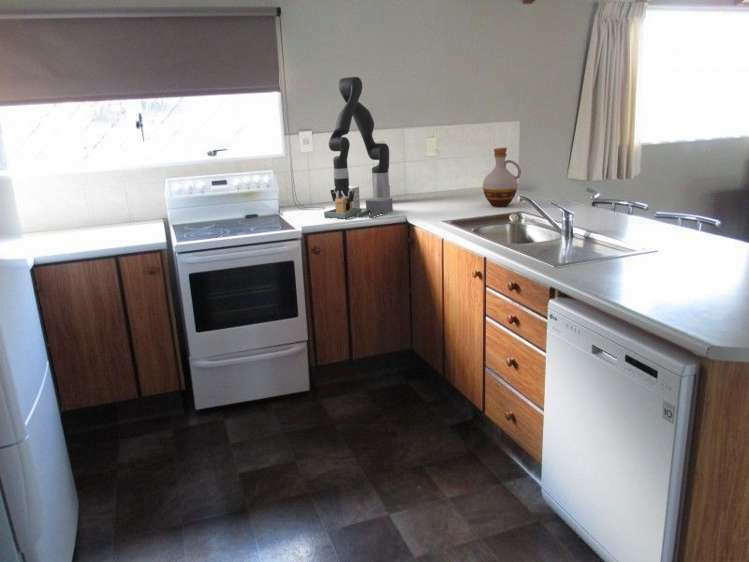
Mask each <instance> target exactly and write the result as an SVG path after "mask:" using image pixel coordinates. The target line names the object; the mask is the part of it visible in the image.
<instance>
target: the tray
mask: <svg viewBox="0 0 749 562" xmlns="http://www.w3.org/2000/svg"><path fill="white" fill-rule="evenodd" d="M360 212H363V211H362V207H360V208H353V210H352V211H349V212H346V213H336V208H333V209H331V210H327V211H326V210H325V211H324V212H323V216H324V217H325V218H324V219H332V218H337V219H336V220H344V219H345V220H347V218H348V219H351V218H353V216H354V217H356V214H357V213H360ZM350 217H351V218H350Z"/></svg>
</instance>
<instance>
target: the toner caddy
mask: <svg viewBox="0 0 749 562" xmlns="http://www.w3.org/2000/svg"><path fill="white" fill-rule="evenodd" d="M347 200H348V199H347ZM334 204H335V205H334V206H335V207H334V208H335V209H336V213H346V212H349V211H352V210H353V207H352V202H350V209H349V210H348V211H347V210H346V202H345V199H344V198H343V197H342V198H338V199H335V201H334Z"/></svg>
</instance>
